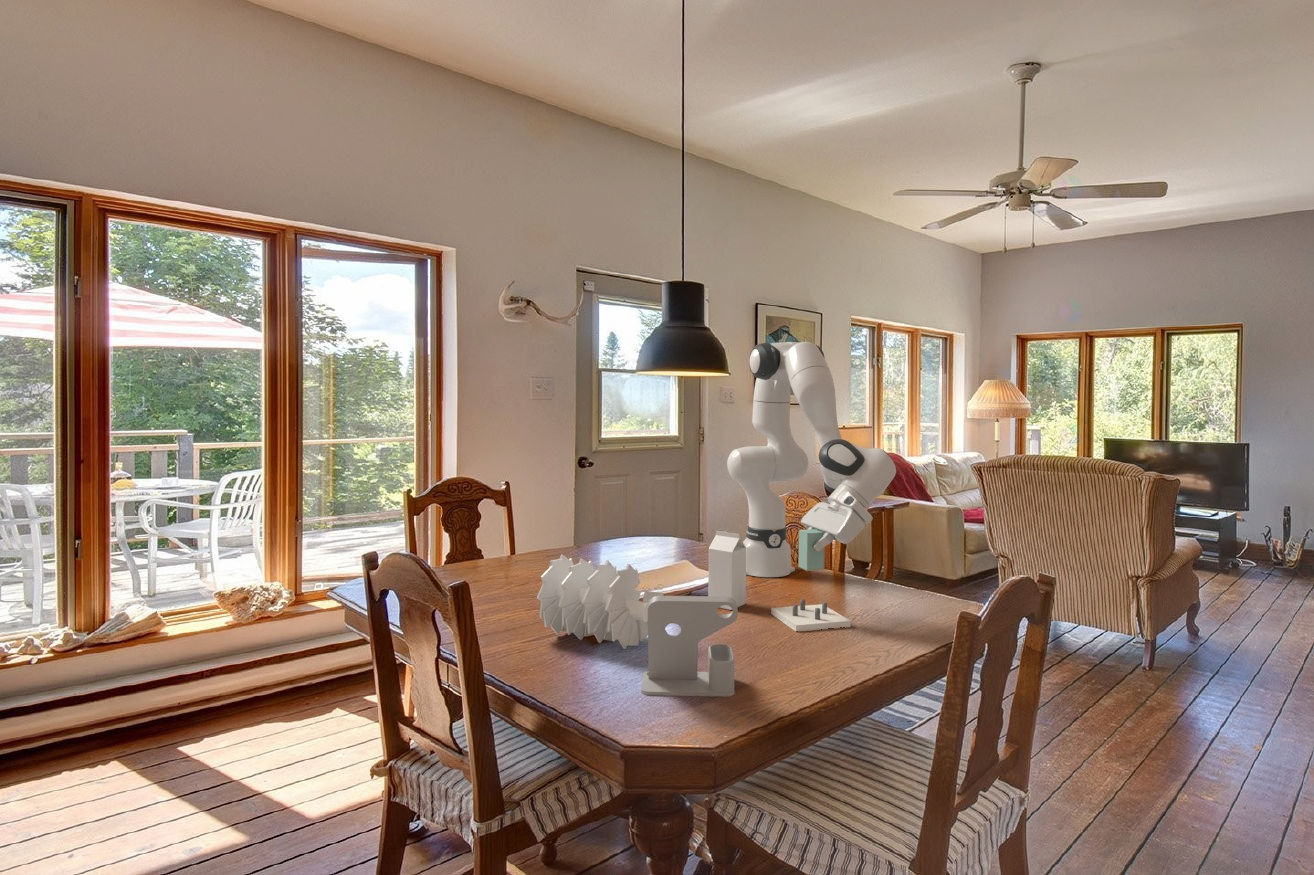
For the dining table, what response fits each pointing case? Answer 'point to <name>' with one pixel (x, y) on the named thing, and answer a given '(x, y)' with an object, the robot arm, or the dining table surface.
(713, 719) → the dining table surface
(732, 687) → the grey mounting bracket
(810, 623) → the peg board
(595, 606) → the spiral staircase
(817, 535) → the block
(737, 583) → the milk carton
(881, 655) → the dining table surface
